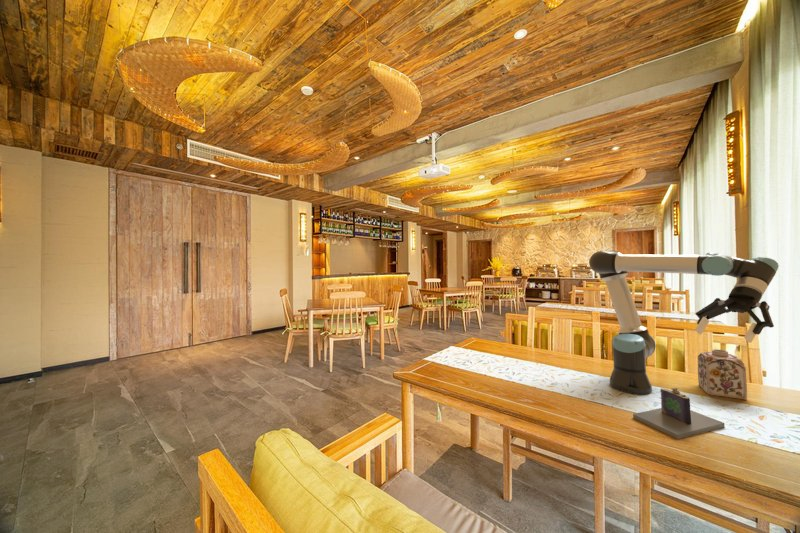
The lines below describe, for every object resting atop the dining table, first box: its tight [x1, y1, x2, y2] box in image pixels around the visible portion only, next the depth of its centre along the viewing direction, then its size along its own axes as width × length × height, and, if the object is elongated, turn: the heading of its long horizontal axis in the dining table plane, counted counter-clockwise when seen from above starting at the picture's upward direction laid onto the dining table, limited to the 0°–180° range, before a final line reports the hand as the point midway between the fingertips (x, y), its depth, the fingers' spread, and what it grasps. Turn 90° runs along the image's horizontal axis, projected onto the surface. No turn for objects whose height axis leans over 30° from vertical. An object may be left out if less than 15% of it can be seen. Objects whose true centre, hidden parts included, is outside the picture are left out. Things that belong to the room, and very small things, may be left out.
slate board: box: [632, 407, 725, 440], centre depth 103 cm, size 14×22×2 cm, turn 105°
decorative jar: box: [697, 348, 748, 401], centre depth 125 cm, size 12×12×18 cm
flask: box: [660, 387, 691, 425], centre depth 104 cm, size 9×3×11 cm, turn 8°
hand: (721, 335), depth 106 cm, fingers open, 13 cm apart
